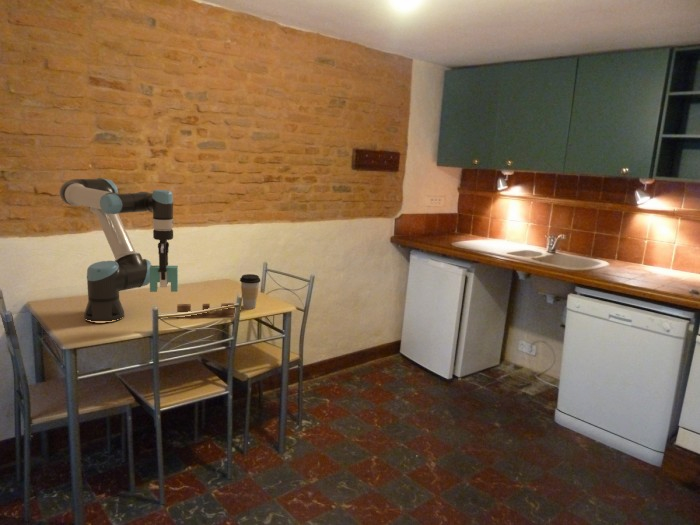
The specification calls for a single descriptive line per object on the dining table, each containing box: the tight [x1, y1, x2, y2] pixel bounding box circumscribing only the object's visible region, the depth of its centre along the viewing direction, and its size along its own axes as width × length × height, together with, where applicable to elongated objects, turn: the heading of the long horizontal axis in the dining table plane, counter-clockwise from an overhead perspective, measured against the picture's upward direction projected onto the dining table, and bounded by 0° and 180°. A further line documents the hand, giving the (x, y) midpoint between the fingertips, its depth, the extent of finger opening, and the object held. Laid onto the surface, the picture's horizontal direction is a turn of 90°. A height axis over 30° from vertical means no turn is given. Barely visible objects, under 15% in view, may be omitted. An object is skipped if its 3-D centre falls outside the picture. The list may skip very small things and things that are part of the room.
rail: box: [176, 302, 235, 319], centre depth 225 cm, size 24×6×5 cm, turn 106°
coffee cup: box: [239, 273, 261, 310], centre depth 239 cm, size 9×9×15 cm
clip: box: [149, 265, 179, 293], centre depth 208 cm, size 10×4×10 cm, turn 105°
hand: (164, 285), depth 209 cm, fingers closed on clip, 4 cm apart
